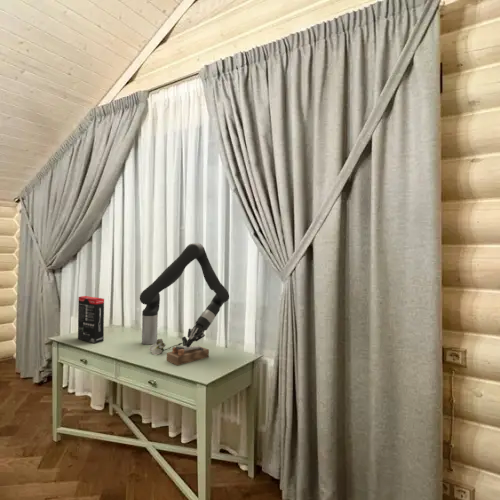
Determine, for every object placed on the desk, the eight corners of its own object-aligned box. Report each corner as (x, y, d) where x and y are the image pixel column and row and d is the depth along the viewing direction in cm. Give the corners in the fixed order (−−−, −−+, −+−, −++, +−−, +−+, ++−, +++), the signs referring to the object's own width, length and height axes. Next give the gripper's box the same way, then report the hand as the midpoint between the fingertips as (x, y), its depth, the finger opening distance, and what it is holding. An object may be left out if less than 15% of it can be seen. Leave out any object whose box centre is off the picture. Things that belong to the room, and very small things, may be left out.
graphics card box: (104, 341, 209) (105, 297, 209) (94, 344, 203) (95, 299, 203) (86, 337, 217) (87, 295, 217) (76, 339, 211) (77, 296, 211)
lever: (197, 348, 185) (197, 345, 185) (200, 349, 183) (200, 347, 183) (175, 348, 175) (176, 346, 175) (178, 350, 173) (179, 347, 173)
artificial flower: (190, 351, 197) (190, 336, 194) (152, 362, 185) (152, 346, 182) (184, 343, 204) (184, 329, 201) (147, 353, 192) (147, 338, 189)
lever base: (197, 352, 190) (197, 341, 190) (208, 356, 183) (208, 344, 183) (166, 360, 175) (166, 347, 175) (177, 365, 168) (177, 352, 168)
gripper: (194, 314, 190) (175, 339, 181) (209, 317, 181) (190, 344, 172) (202, 322, 194) (183, 347, 185) (216, 325, 184) (198, 352, 176)
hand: (186, 345), depth 178 cm, fingers closed
